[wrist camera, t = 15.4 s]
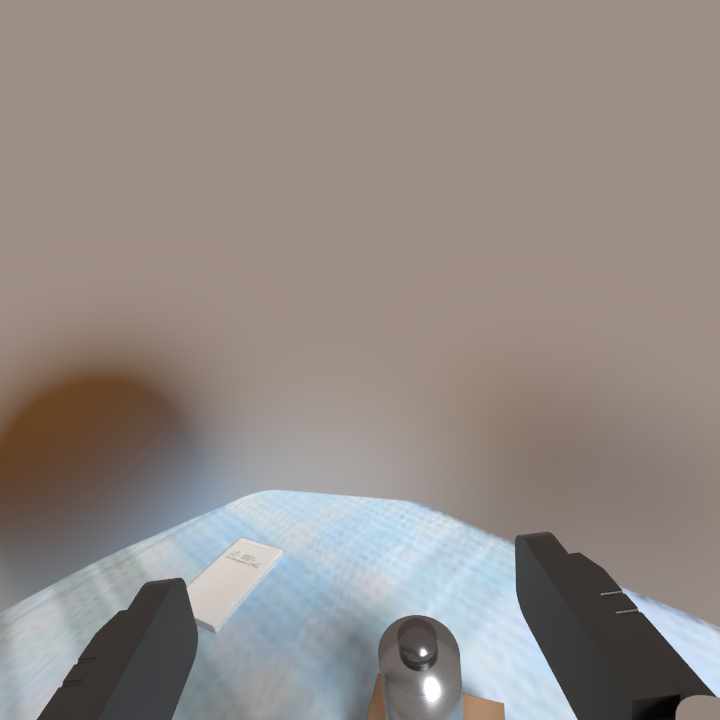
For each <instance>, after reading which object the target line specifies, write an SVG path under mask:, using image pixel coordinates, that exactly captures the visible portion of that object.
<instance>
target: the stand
mask: <svg viewBox="0 0 720 720" xmlns="http://www.w3.org/2000/svg"><path fill="white" fill-rule="evenodd" d="M462 696H463V712H464V720H505V713H504V703H500V702H495V701H491V700H487V699H483V698H479V697H474V696H470V695H466V694H462ZM367 720H387V719H386V711H385V703H384V695H383V688H382V680H381V674H378V677H377V681H376V685H375V689H374V693H373V697H372V701H371V705H370V709H369V713H368V717H367Z"/></svg>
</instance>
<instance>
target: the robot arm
mask: <svg viewBox="0 0 720 720" xmlns="http://www.w3.org/2000/svg"><path fill="white" fill-rule="evenodd" d="M515 562H516V592H517V597H518V601H519V605H520V608H521V611H522V613H523V616H524V618H525V620H526V622H527V624H528V626H529V628H530V630H531V632H532V633H533V635H534V637H535V639H536V641H537V643H538V645H539V647H540V649H541V651H542V653H543V654H544V656H545V658H546V660H547V662H548V664H549V666H550V668H551V670H552V672H553V674H554V675H555V677H556V679H557V681H558V683H559V685H560V687H561V689H562V691H563V693H564V694H565V696H566V698H567V700H568V702H569V704H570V706H571V708H572V710H573V712H574V714H575V715H576V717H577V719H578V720H720V698H718V697H716V696H715V695H714V693H713V692H712V691H711V690H710V689H709V688H708V687H707V686H706V685H705V684H704V683H703V681H702V680H701V679H700V678H699V677H698V676H697V675H696V674H695V672H694V671H693V670H692V669H691V668H690V667H689V666H688V664H687V663H686V662H685V661H684V660H683V659H682V658H681V656H680V655H679V654H678V653H677V652H676V651H675V650H674V648H673V647H672V646H671V645H670V644H669V643H668V642H667V641H666V639H665V638H664V637H663V636H662V635H661V634H660V633H659V631H658V630H657V629H656V628H655V627H654V626H653V625H652V623H651V622H650V621H649V620H648V619H647V618H646V617H645V615H644V614H643V613H642V612H639V611H638V608H637V606H636V605H635V604H634V603H633V602H632V601H631V600H630V598H629V597H628V596H627V595H626V594H623V592H622V589H621V588H620V587H619V586H618V585H617V584H616V583H615V581H614V580H613V579H612V578H611V577H610V576H609V575H608V573H607V572H606V571H605V570H604V569H603V568H602V567H600V566H599V565H597V564H596V563H594V562H593V561H591V560H590V559H588V558H587V557H585V556H584V555H582V554H580V553H572V554H568V553H567V551H566V550H565V549H564V548H563V547H562V545H561V544H560V543H559V541H558V540H557V539H556V538H555V536H554V535H553V534H552V533H550V532H541V533H534V534H526V535H518V536H517V537H516V540H515ZM197 643H198V632H197V626H196V622H195V618H194V614H193V611H192V607H191V603H190V599H189V595H188V592H187V588H186V584H185V582H184V580H183V579H182V578H174V579H167V580H159V581H151V582H147V583H145V584H144V585H143V586H142V588H141V589H140V591H139V592H138V594H137V595H136V597H135V598H134V600H133V602H132V603H131V605H130V606H129V608H128V609H127V610H122V611H119V612H118V613H117V614H116V615H115V616H114V617H113V618H112V619H111V620H110V621H108V622H107V623H106V624H105V625H104V626H103V627H102V628H101V629H100V630H99V631H98V632H97V633H96V634H95V635H94V637H93V638H92V640H91V641H90V643H89V644H88V646H87V647H86V649H85V650H84V652H83V653H82V654H81V656H80V657H79V659H78V663H77V664H75V665H74V666H73V668H72V669H71V670H70V672H69V673H68V675H67V676H66V678H65V679H64V681H63V685H62V687H60V688H58V689H57V691H56V692H55V694H54V695H53V697H52V698H51V700H50V701H49V703H48V704H47V706H46V707H45V708H44V710H43V711H42V713H41V714H40V716H39V717H38V719H37V720H171V719H172V717H173V714H174V712H175V709H176V706H177V704H178V701H179V699H180V696H181V693H182V691H183V688H184V686H185V683H186V680H187V678H188V675H189V673H190V670H191V667H192V665H193V662H194V659H195V655H196V651H197Z"/></svg>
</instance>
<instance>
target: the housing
mask: <svg viewBox="0 0 720 720" xmlns="http://www.w3.org/2000/svg"><path fill="white" fill-rule="evenodd" d="M378 655H379V664H380V672H381V680H382V688H383V695H384V703H385V711H386V719H387V720H464V712H463V696H462V681H461V665H460V653H459V648H458V644H457V642H456V639H455V638H454V636H453V634H452V633H451V632H450V631H449V629H448V628H447V627H446V626H444V625H443V624H442V623H440V622H439V621H437V620H435V619H433V618H430V617H427V616H421V615H413V616H407V617H404V618H401V619H399V620H397V621H395V622H394V623H392V624H391V625H390V626H389V627H388V628H387V629H386V631H385V632H384V634H383V636H382V638H381V641H380V644H379V651H378Z"/></svg>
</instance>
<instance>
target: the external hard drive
mask: <svg viewBox="0 0 720 720" xmlns="http://www.w3.org/2000/svg"><path fill="white" fill-rule="evenodd" d="M283 556H284V554H283V551H282V550H281V549H278V548H275V547H271V546H268V545H264V544H261V543H258V542H254V541H251V540H247V539H244V538H239V539H238V540H237V541H236V542H235V543H234V544H233V545H231V546H230V547H229V548H228V549H227V550H226V551H225V552H224V553H223V554H222V555H220V556H219V557H218V558H217V559H216V560H215V561H214V562H213V563H212V564H211V565H210V566H209V567H207V568H206V569H205V570H204V571H203V572H202V573H201V574H200V575H199V576H198V577H197V578H195V579H194V580H193V581H192V582H191V583H190V584H189V585H188V586H187V587H186V588H187V592H188V595H189V599H190V603H191V607H192V611H193V614H194V618H195V622H196V625H198V626H200V627H203V628H205V629H207V630H209V631H211V632H213V633H215V634H216V633H217V632H218V631H219V630H220V629H221V627H222V626H223V625H224V624H225V623H226V622H227V621H228V619H229V618H230V617H231V616H232V615H233V613H234V612H235V611H236V610H237V609H238V608H239V607H240V605H241V604H242V603H243V602H244V601H245V600H246V598H247V597H248V596H249V595H250V594H251V593H252V592H253V590H254V589H255V588H256V587H257V586H258V585H259V583H260V582H261V581H262V580H263V579H264V578H265V577H266V575H267V574H268V573H269V572H270V571H271V570H272V568H273V567H274V566H275V565H276V564H277V563H278V562H279V560H280V559H281V558H282V557H283Z"/></svg>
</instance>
